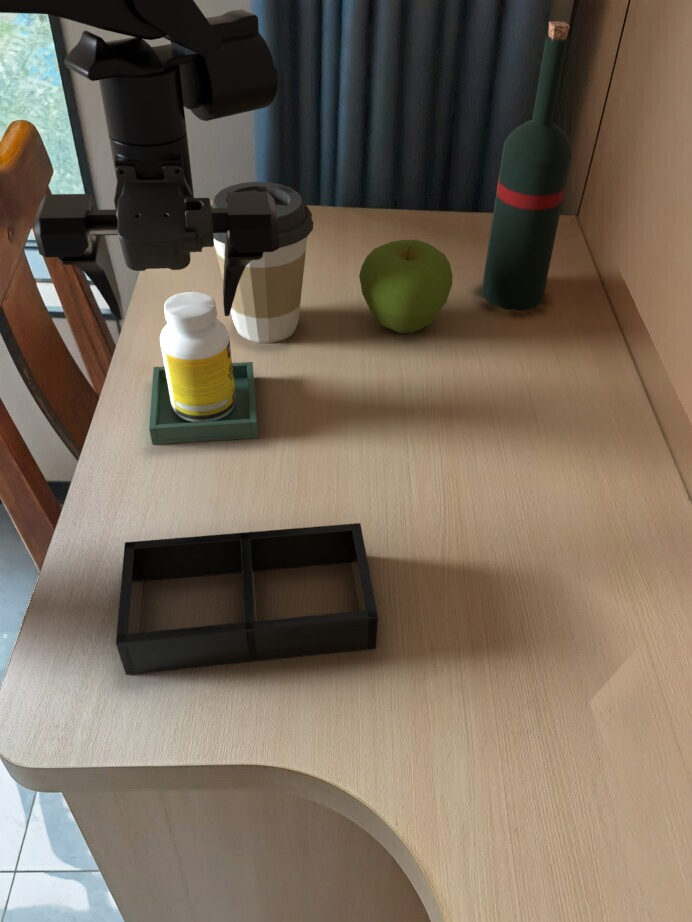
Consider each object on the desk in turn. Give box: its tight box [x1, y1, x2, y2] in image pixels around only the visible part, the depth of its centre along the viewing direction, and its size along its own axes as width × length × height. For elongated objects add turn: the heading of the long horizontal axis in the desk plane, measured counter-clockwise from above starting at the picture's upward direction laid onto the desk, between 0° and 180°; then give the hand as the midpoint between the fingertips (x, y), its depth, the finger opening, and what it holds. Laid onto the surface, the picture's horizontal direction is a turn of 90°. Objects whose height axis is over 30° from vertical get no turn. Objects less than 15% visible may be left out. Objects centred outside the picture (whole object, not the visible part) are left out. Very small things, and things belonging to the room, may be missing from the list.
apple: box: [358, 239, 453, 334], centre depth 91 cm, size 11×10×10 cm
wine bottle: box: [481, 21, 572, 311], centre depth 91 cm, size 8×10×30 cm
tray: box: [148, 361, 259, 445], centre depth 81 cm, size 10×10×2 cm
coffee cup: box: [211, 181, 314, 344], centre depth 88 cm, size 11×11×15 cm
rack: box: [115, 522, 379, 676], centre depth 63 cm, size 19×10×4 cm, turn 99°
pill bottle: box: [159, 291, 236, 422], centre depth 77 cm, size 6×6×12 cm
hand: (174, 315), depth 71 cm, fingers open, 9 cm apart
